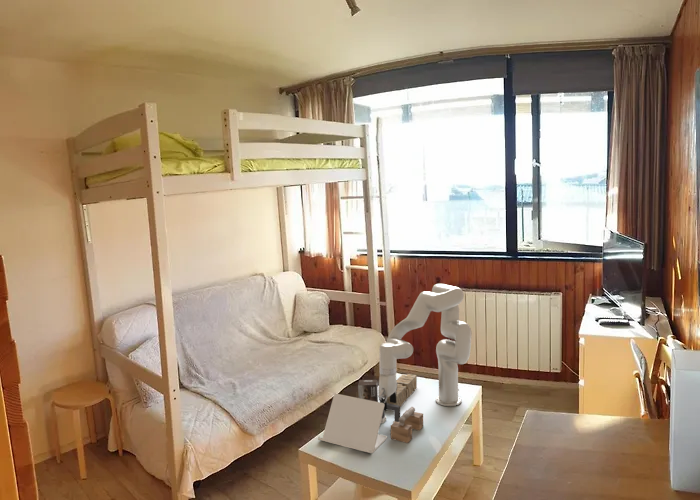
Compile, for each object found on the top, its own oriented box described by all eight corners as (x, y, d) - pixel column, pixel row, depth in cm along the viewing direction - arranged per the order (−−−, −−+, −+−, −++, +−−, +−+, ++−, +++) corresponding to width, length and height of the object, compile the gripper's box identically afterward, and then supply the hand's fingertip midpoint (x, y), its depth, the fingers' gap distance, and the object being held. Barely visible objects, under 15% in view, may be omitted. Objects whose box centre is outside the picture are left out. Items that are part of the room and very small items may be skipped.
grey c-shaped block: (381, 419, 246) (380, 400, 244) (402, 423, 240) (401, 405, 239) (377, 422, 243) (376, 403, 241) (398, 427, 237) (398, 408, 236)
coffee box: (378, 411, 254) (377, 379, 252) (378, 417, 248) (377, 384, 246) (360, 411, 255) (359, 379, 253) (359, 417, 249) (357, 384, 247)
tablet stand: (338, 426, 241) (337, 391, 238) (387, 437, 228) (386, 400, 226) (317, 444, 225) (315, 406, 223) (368, 457, 213) (367, 418, 210)
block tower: (403, 388, 283) (382, 408, 257) (403, 373, 282) (381, 391, 256) (417, 390, 280) (397, 411, 254) (417, 375, 279) (396, 394, 253)
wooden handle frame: (407, 422, 241) (406, 403, 240) (423, 426, 237) (423, 406, 236) (390, 438, 227) (390, 418, 226) (407, 443, 223) (407, 421, 221)
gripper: (389, 363, 247) (389, 397, 249) (371, 375, 232) (372, 411, 235) (403, 365, 243) (403, 401, 245) (386, 377, 229) (387, 415, 231)
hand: (388, 406), depth 240 cm, fingers open, 9 cm apart
